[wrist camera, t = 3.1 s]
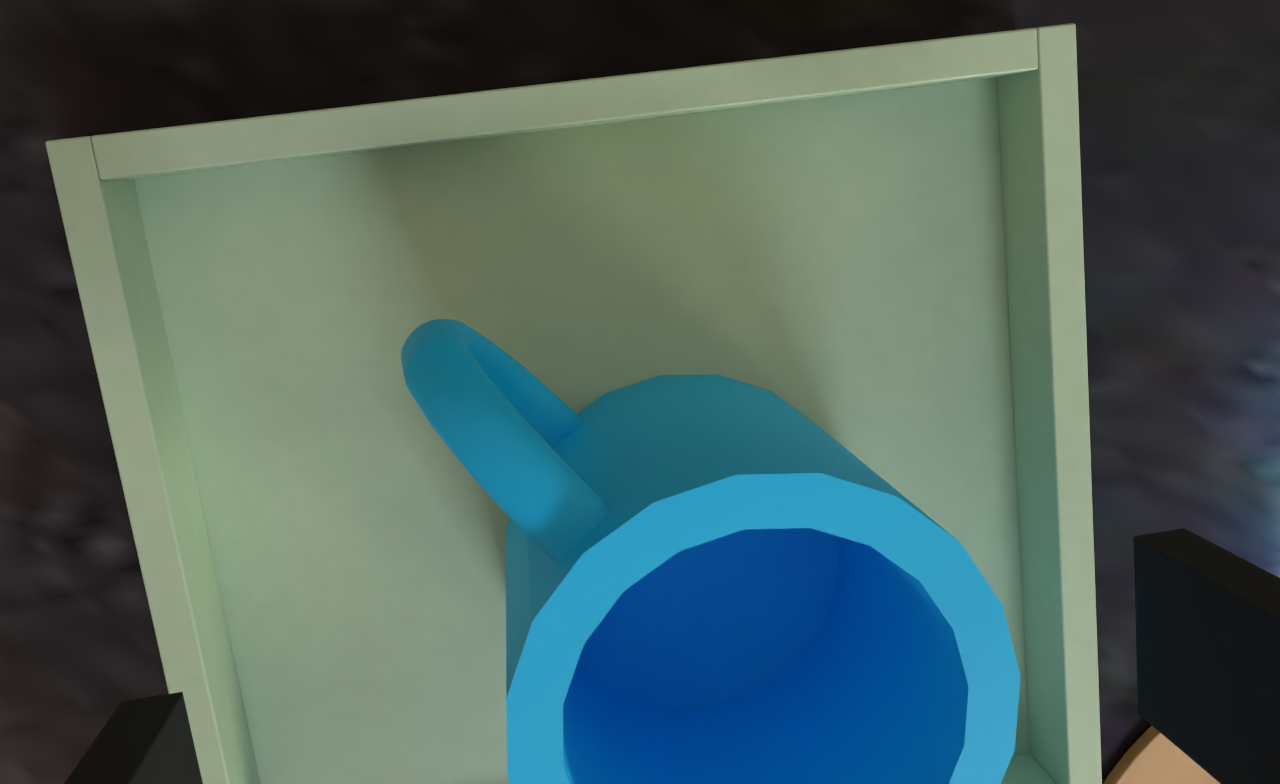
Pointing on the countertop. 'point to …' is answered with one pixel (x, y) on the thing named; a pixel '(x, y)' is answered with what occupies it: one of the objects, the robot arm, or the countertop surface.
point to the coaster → (1157, 764)
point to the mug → (716, 588)
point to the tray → (576, 360)
